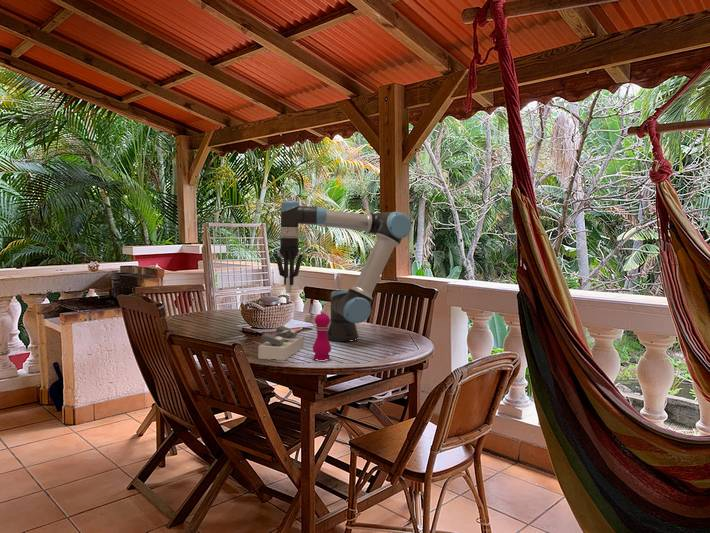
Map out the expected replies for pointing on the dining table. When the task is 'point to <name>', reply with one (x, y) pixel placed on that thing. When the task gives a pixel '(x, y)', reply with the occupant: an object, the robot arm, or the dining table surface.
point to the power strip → (281, 348)
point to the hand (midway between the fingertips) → (288, 292)
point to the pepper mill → (322, 337)
